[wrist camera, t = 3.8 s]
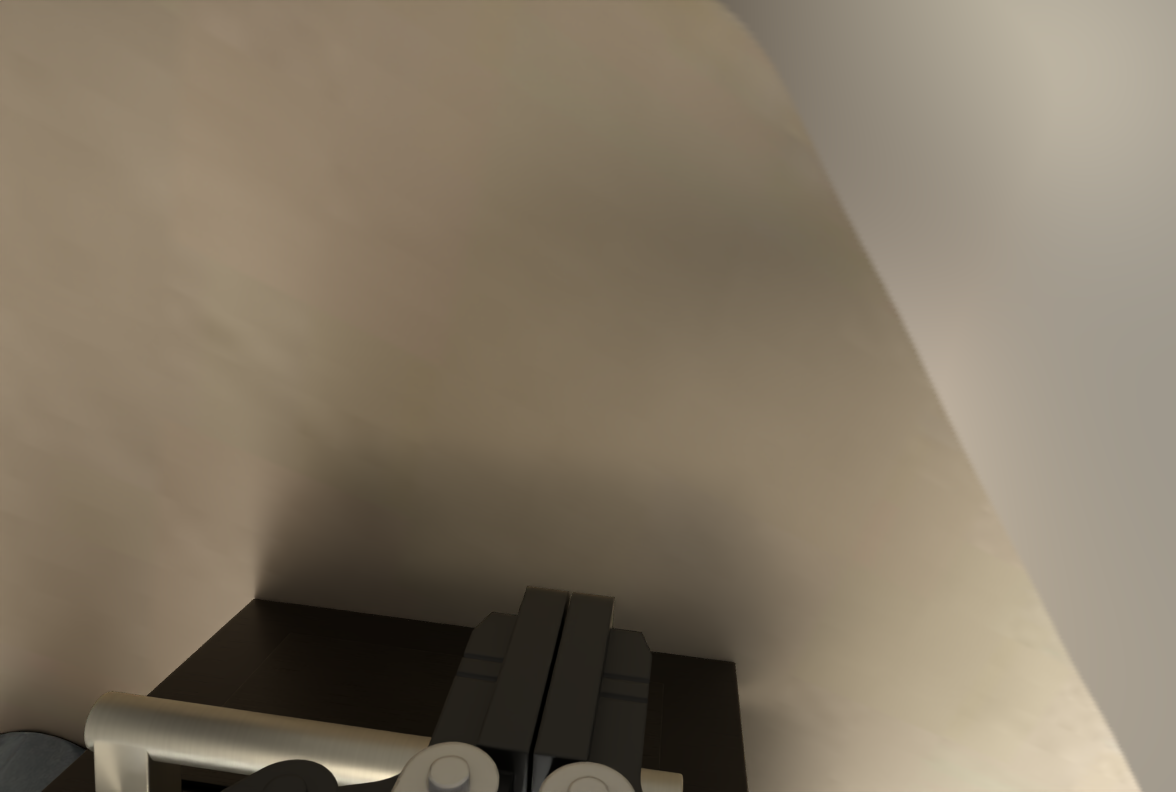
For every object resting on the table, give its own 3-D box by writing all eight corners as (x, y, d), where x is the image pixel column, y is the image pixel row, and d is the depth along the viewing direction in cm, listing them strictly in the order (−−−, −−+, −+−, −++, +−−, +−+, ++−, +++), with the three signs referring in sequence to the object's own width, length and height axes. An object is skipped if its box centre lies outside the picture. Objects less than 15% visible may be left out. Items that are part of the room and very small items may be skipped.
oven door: (254, 513, 36) (-63, 738, 21) (747, 574, 34) (793, 869, 19) (253, 633, 37) (-47, 928, 22) (730, 698, 36) (761, 1069, 20)
